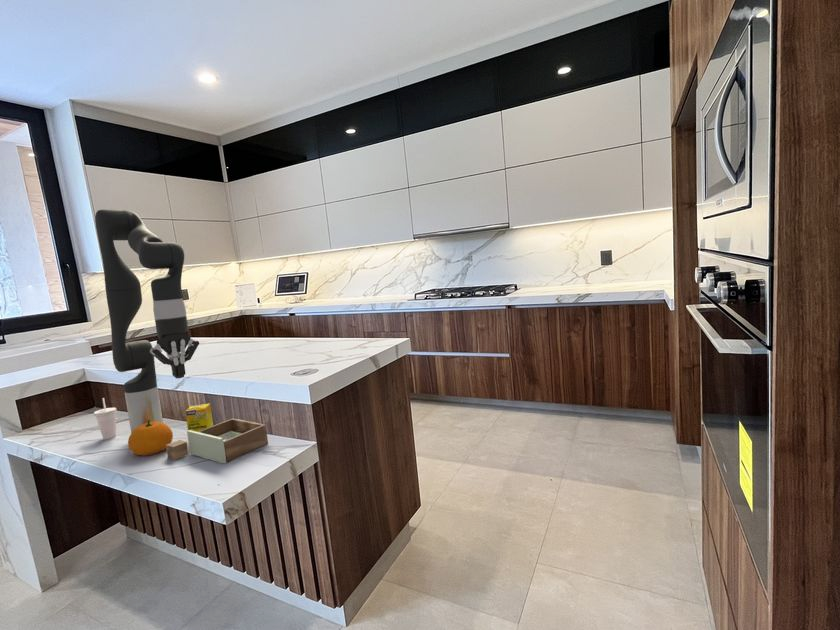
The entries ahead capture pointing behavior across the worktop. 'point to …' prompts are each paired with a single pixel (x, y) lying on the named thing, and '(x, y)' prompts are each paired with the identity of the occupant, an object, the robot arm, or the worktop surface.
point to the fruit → (150, 438)
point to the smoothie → (106, 421)
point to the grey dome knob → (226, 437)
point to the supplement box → (199, 417)
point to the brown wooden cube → (177, 449)
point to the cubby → (239, 437)
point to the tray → (208, 445)
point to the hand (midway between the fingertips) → (179, 377)
